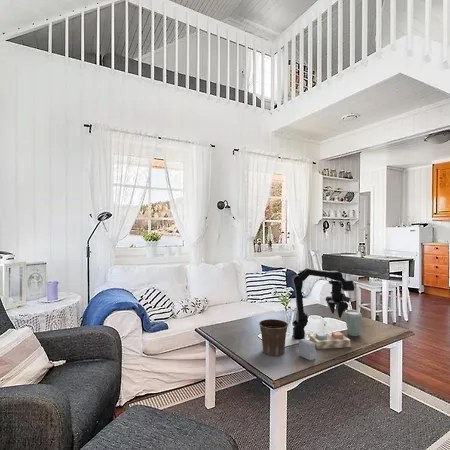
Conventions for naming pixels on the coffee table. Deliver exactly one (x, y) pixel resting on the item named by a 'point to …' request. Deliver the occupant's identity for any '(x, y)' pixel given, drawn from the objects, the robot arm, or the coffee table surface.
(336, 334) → the terracotta key
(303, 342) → the medicine box
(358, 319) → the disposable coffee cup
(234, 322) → the coffee table surface
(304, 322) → the robot arm
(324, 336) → the blue grey key
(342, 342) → the key console
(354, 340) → the coffee table surface
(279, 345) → the plant pot
